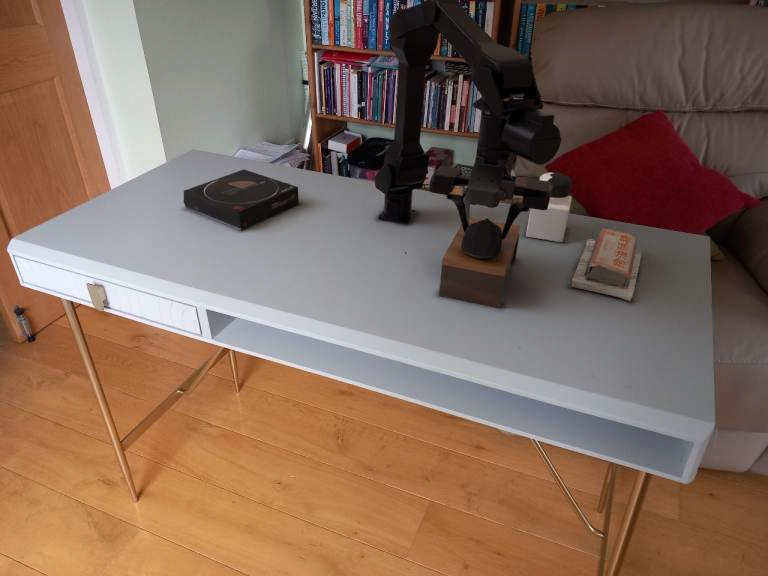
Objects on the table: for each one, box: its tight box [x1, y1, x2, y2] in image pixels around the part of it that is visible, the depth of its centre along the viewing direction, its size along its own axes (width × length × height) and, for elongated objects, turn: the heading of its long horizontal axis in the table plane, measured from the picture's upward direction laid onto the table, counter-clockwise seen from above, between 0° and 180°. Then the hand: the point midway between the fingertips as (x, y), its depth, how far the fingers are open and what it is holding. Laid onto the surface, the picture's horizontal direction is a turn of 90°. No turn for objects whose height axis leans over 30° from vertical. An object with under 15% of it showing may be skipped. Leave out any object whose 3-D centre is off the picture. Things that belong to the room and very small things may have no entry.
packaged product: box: [571, 228, 643, 302], centre depth 104 cm, size 18×5×10 cm
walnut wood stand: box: [438, 216, 522, 309], centre depth 101 cm, size 17×10×7 cm, turn 161°
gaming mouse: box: [461, 218, 502, 258], centre depth 98 cm, size 6×15×4 cm, turn 165°
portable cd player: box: [183, 168, 300, 231], centre depth 124 cm, size 16×17×4 cm
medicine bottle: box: [525, 171, 573, 243], centre depth 115 cm, size 7×7×12 cm
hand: (484, 235), depth 98 cm, fingers closed on gaming mouse, 6 cm apart
